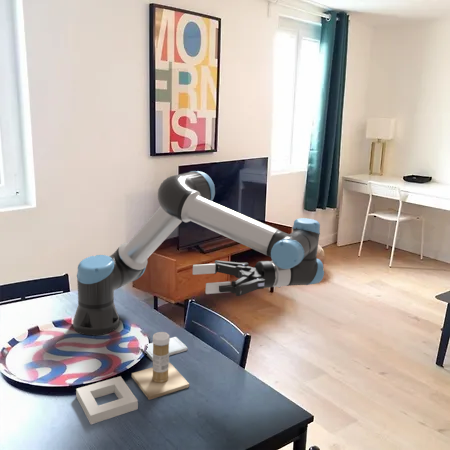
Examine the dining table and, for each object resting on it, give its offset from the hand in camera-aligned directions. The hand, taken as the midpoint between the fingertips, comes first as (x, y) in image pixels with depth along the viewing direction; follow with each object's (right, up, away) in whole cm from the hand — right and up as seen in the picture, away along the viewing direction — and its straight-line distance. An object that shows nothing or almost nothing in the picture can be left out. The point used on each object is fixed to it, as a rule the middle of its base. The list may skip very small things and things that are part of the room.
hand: (199, 278), depth 124 cm
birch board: (-11, -29, +4) cm, 32 cm away
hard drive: (-12, -25, +21) cm, 35 cm away
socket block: (-23, -31, -6) cm, 40 cm away
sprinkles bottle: (-11, -29, +4) cm, 31 cm away
